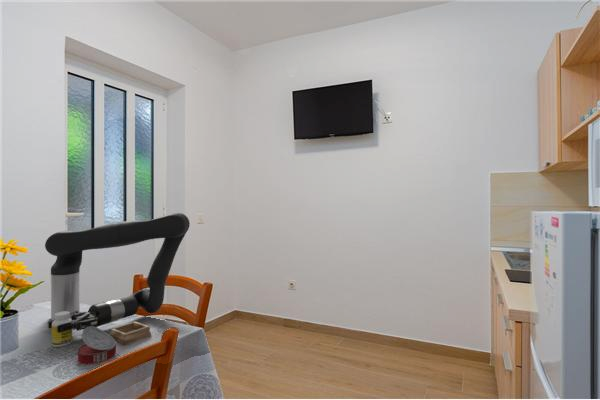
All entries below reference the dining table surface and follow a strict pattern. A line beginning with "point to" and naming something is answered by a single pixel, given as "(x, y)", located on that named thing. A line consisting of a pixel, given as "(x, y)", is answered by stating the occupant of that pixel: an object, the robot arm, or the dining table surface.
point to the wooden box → (130, 332)
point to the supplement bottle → (62, 337)
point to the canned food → (96, 346)
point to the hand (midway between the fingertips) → (53, 327)
